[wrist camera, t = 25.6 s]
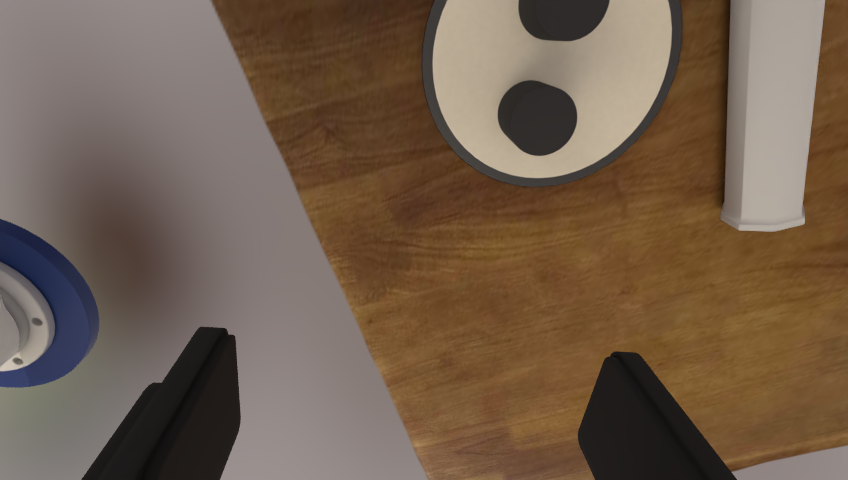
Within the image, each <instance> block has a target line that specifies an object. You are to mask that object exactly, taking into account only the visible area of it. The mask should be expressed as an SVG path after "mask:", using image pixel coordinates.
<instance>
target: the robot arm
mask: <svg viewBox="0 0 848 480" xmlns="http://www.w3.org/2000/svg"><path fill="white" fill-rule="evenodd" d="M54 335H55V321H54V317H53V313H52V311H51V309H50V306H49V304H48V302H47V301H46V299H45V298H44V296H43V295H42V294H41V292H40V291H39V290H38V289H37V288H36V287H35V286H34V285H33V284H32V283H31V282H30V281H29V280H28V279H27V278H25V277H24V276H23V275H22V274H20V273H19V272H18V271H16V270H14V269H13V268H11V267H9V266H8V265H6V264H4V263H2V262H0V371H9V370H15V369H19V368H22V367H25V366H28V365H29V364H31V363H32V362H34V361H36V360H37V359H38V358H39V357H40V356H41V355H43V354H44V353H45V352H46V351H47V349H48V348H49V347H50V345H51V344H52V341H53V338H54ZM240 417H241V416H240V402H239V386H238V371H237V356H236V341H235V336H234V335H228V331H227V329H225V328H213V327H200V328H198V330H197V331H196V332H195V334H194V335H193V337H192V338H191V340H190V342H189V343H188V344H187V346H186V347H185V349H184V350H183V352H182V353H181V355H180V356H179V358H178V360H177V361H176V362H175V364H174V366H173V367H172V368H171V370H170V371H169V373H168V374H167V376H166V377H165V379H164V380H163V382H162V383H152V384H151V385H149V386H148V387H147V388H146V389H145V390H144V391H143V393H142V395H141V396H140V397H139V399H138V400H137V401H136V403H135V404H134V406H133V407H132V409H131V410H130V412H129V413H128V415H127V416H126V417H125V419H124V420H123V421H122V423H121V424H120V426H119V427H118V428H117V430H116V431H115V433H114V434H113V436H112V437H111V438H110V440H109V441H108V443H107V444H106V446H105V447H104V448H103V450H102V451H101V453H100V454H99V455H98V457H97V458H96V460H95V461H94V463H93V464H92V465H91V467H90V468H89V470H88V471H87V473H86V474H85V475H84V477H83V478H82V480H220V478H221V475H222V473H223V470H224V468H225V465H226V462H227V460H228V457H229V455H230V452H231V450H232V446H233V445H234V442H235V440H236V437H237V434H238V431H239V427H240ZM578 441H579V445H580V447H581V450H582V452H583V454H584V456H585V458H586V460H587V463H588V465H589V467H590V469H591V471H592V474H593V476H594V478H595V480H737V479H736V478H735V477H734V475H733V474H732V473H731V471H730V470H729V469H728V467H727V466H726V465H725V464H724V462H723V461H722V460H721V458H720V457H719V456H718V455H717V453H716V452H715V451H714V449H713V448H712V447H711V446H710V444H709V443H708V442H707V440H706V439H705V438H704V437H703V435H702V434H701V433H700V431H699V430H698V429H697V428H696V426H695V425H694V424H693V422H692V421H691V420H690V419H689V417H688V416H687V415H686V413H685V412H684V411H683V410H682V408H681V407H680V406H679V404H678V403H677V402H676V401H675V399H674V398H673V397H672V395H671V394H670V393H669V392H668V390H667V389H666V388H665V386H664V385H663V384H662V383H661V381H660V380H659V379H658V377H657V376H656V375H655V374H654V372H653V371H652V370H651V368H650V367H649V366H648V365H647V363H646V362H645V361H644V359H643V358H642V357H641V356H640V355H639V354H638V353H632V352H613V353H612V354H611V356H610V357H607V358H605V360H604V362H603V365H602V368H601V370H600V373H599V376H598V379H597V381H596V384H595V387H594V390H593V392H592V395H591V398H590V401H589V403H588V406H587V409H586V411H585V414H584V417H583V420H582V422H581V425H580V428H579V431H578Z"/></svg>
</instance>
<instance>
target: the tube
mask: <svg viewBox="0 0 848 480" xmlns="http://www.w3.org/2000/svg"><path fill="white" fill-rule="evenodd" d="M824 6H825V0H731V7H730V39H729V71H728V104H727V136H726V169H725V201H724V203H723V205H722V210H721V217H720V220H722V221H724V222H725V223H727V224H729V225H731V226H732V227H734V228H736V229H737V230H740V231H770V232H775V231H779V230H783V229H787V228H791V227H795V226H799V225H803V224H805V212H804V205H802V204H803V195H804V186H805V177H806V168H807V159H808V150H809V141H810V132H811V123H812V114H813V105H814V96H815V87H816V78H817V69H818V60H819V51H820V42H821V33H822V24H823V15H824Z"/></svg>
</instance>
